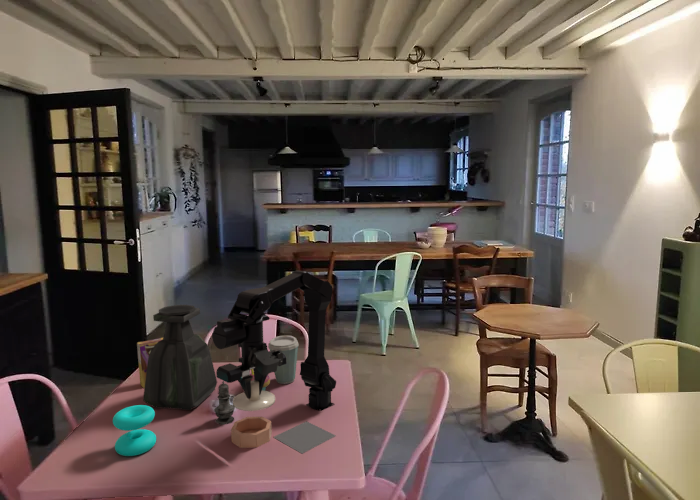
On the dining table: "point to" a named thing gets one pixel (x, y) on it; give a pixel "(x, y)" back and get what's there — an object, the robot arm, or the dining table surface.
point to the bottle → (179, 363)
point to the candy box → (145, 357)
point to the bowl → (251, 432)
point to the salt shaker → (224, 406)
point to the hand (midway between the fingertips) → (253, 396)
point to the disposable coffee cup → (290, 349)
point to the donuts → (134, 430)
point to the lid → (254, 399)
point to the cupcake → (264, 382)
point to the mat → (304, 437)
